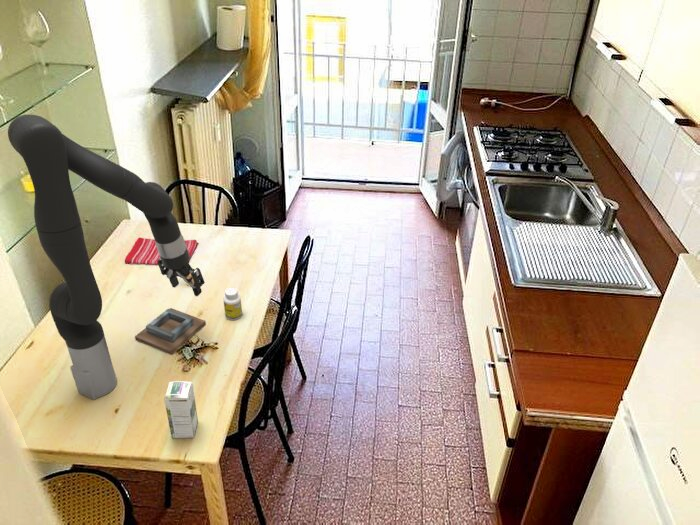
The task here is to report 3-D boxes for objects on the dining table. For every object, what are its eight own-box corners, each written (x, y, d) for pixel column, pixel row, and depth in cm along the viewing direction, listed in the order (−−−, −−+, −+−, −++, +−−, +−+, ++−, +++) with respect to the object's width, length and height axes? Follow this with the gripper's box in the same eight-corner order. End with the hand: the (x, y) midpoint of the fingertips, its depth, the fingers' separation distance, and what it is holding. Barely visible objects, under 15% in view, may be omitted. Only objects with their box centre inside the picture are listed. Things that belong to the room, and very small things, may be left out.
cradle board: (171, 354, 168) (169, 344, 166) (135, 340, 173) (133, 329, 171) (205, 324, 180) (204, 314, 178) (171, 311, 185) (169, 301, 183)
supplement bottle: (221, 315, 184) (219, 291, 179) (235, 308, 187) (232, 284, 182) (232, 322, 181) (229, 298, 176) (245, 315, 184) (243, 291, 179)
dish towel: (139, 241, 222) (138, 235, 220) (199, 244, 222) (198, 238, 220) (123, 265, 208) (122, 259, 206) (187, 268, 207) (186, 262, 206)
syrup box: (176, 421, 147) (167, 380, 139) (199, 420, 147) (192, 380, 139) (171, 438, 142) (162, 398, 134) (195, 438, 143) (187, 397, 135)
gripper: (143, 249, 156) (160, 291, 167) (183, 264, 150) (197, 305, 161) (162, 233, 161) (177, 274, 172) (201, 247, 155) (214, 289, 166)
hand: (187, 289), depth 166 cm, fingers open, 8 cm apart
